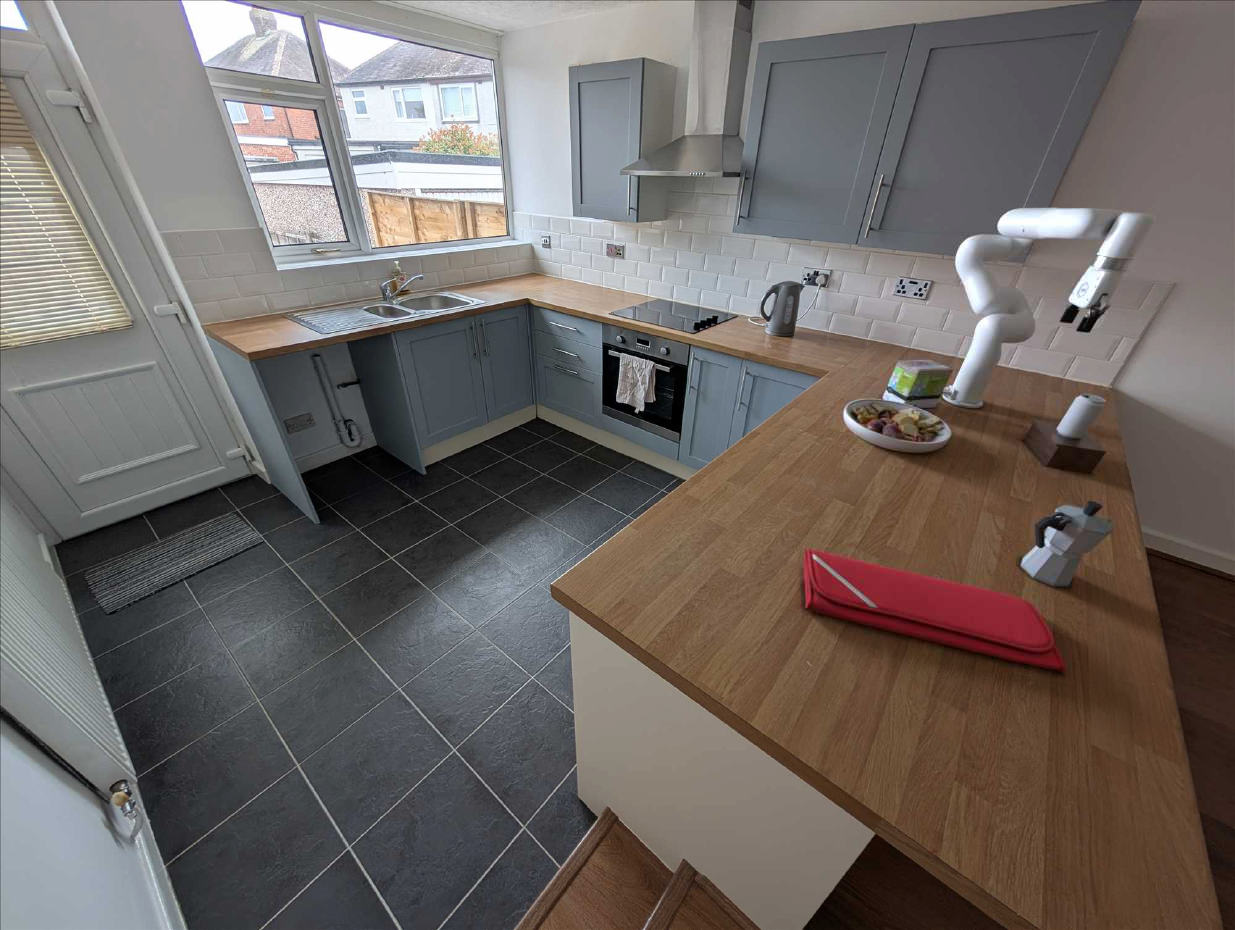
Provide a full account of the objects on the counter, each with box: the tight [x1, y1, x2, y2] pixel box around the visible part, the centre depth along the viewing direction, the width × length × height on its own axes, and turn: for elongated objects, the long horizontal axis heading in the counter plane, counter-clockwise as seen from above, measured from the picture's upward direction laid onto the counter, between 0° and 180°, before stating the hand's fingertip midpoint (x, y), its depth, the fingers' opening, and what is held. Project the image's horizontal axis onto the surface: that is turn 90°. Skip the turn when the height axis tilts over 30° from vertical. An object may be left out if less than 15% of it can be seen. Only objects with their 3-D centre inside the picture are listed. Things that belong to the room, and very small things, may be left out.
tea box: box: [882, 359, 954, 409], centre depth 166 cm, size 15×10×15 cm, turn 105°
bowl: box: [843, 398, 952, 454], centre depth 148 cm, size 30×30×8 cm
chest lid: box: [1030, 419, 1107, 455], centre depth 139 cm, size 12×16×1 cm
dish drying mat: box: [803, 547, 1067, 672], centre depth 88 cm, size 16×41×4 cm, turn 74°
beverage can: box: [1057, 392, 1107, 439], centre depth 135 cm, size 6×6×12 cm
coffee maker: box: [1020, 500, 1115, 588], centre depth 95 cm, size 15×9×18 cm, turn 92°
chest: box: [1022, 423, 1106, 475], centre depth 141 cm, size 11×16×7 cm
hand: (1073, 327), depth 137 cm, fingers open, 9 cm apart
